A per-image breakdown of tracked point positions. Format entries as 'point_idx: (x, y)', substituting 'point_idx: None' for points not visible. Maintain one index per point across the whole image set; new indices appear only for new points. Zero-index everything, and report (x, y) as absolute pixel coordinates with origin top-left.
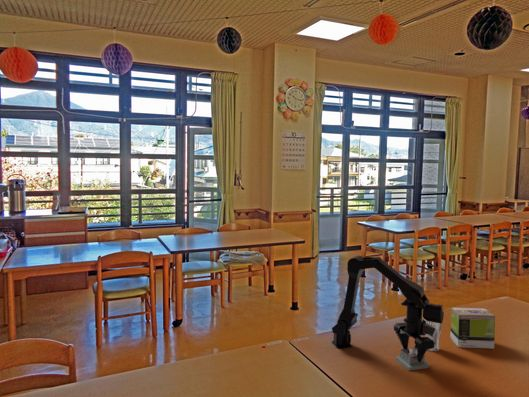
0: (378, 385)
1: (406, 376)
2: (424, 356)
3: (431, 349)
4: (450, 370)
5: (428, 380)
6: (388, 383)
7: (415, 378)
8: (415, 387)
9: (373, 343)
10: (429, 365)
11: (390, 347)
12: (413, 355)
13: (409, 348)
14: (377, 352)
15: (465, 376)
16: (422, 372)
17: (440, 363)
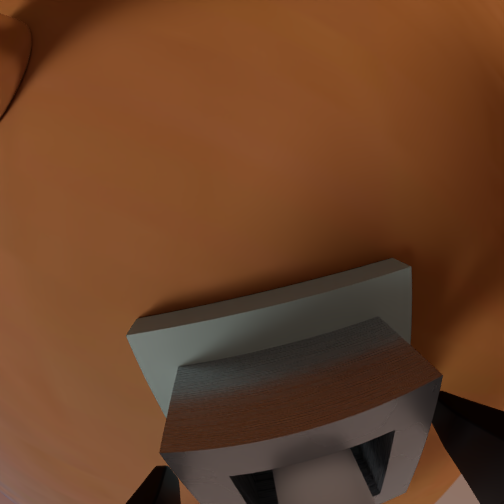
0: (428, 492)
1: (431, 433)
2: (426, 364)
3: (8, 83)
4: (429, 75)
5: (500, 327)
6: (435, 476)
7: (463, 393)
8: (500, 394)
9: (23, 463)
10: (406, 264)
11: (23, 420)
12: (398, 478)
13: (205, 502)
14: (124, 500)
15: (479, 45)
16: (435, 344)
17: (299, 76)
